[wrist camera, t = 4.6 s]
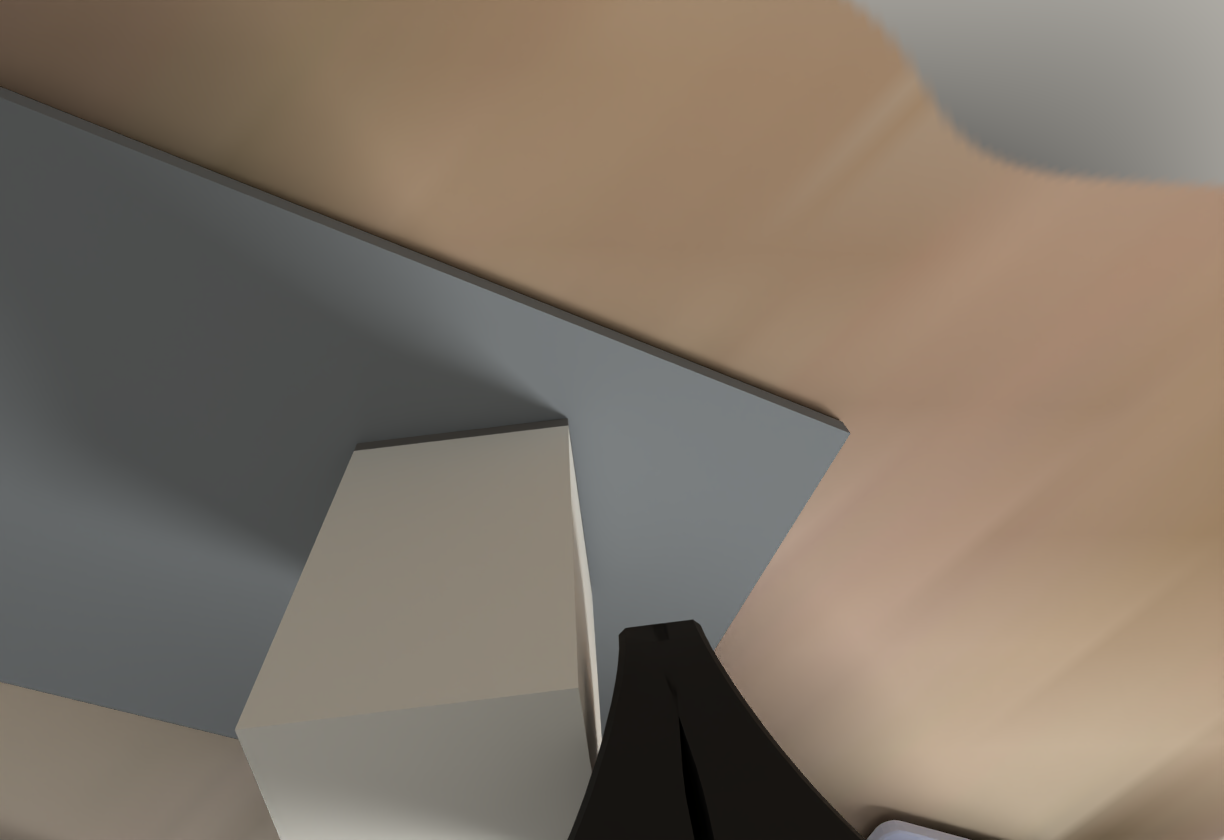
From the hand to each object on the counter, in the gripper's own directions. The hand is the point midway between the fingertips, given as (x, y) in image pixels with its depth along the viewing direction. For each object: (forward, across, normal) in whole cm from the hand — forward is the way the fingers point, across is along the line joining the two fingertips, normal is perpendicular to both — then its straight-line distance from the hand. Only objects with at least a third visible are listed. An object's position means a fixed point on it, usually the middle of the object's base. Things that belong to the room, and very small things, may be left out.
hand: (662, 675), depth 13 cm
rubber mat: (+5, +6, 0) cm, 8 cm away
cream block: (+5, +3, 0) cm, 6 cm away
